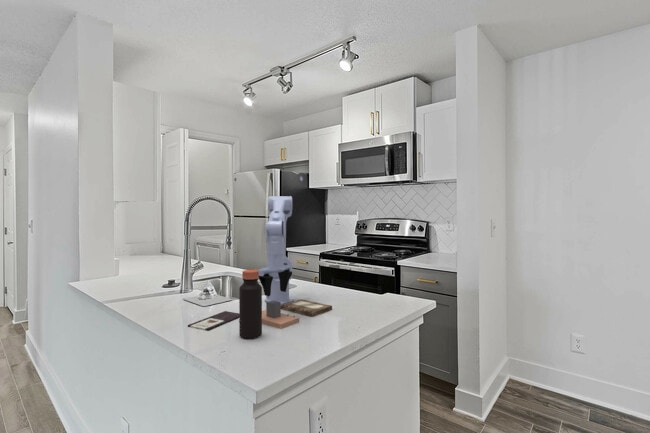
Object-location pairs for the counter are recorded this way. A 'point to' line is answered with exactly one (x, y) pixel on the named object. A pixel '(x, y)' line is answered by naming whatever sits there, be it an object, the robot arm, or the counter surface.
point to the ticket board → (306, 307)
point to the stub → (277, 316)
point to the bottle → (250, 305)
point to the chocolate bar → (215, 321)
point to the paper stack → (208, 300)
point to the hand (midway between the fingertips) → (275, 293)
